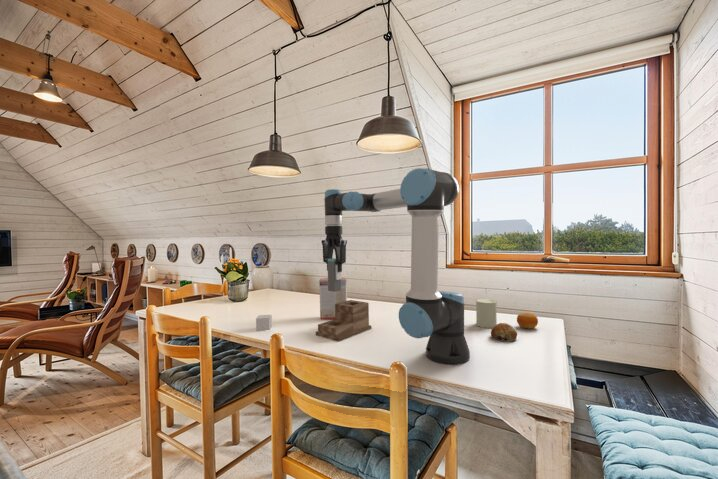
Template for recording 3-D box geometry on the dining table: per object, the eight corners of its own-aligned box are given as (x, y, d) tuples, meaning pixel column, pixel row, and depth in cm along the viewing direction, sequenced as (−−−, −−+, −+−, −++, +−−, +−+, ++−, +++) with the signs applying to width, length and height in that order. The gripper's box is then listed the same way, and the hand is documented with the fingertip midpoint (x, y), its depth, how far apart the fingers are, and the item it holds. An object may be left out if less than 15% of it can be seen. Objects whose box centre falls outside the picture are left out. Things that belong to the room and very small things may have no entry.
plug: (341, 290, 144) (340, 258, 143) (334, 291, 141) (334, 259, 140) (334, 289, 146) (334, 258, 146) (328, 290, 143) (327, 258, 143)
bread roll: (519, 348, 133) (524, 329, 135) (505, 342, 128) (510, 322, 130) (498, 342, 142) (502, 324, 143) (484, 335, 137) (489, 317, 138)
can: (497, 328, 149) (497, 302, 148) (476, 327, 152) (476, 301, 151) (496, 323, 158) (495, 298, 157) (475, 321, 160) (475, 297, 160)
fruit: (538, 317, 153) (530, 304, 151) (543, 329, 145) (535, 315, 143) (520, 324, 156) (512, 311, 154) (524, 335, 148) (516, 322, 147)
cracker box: (347, 316, 175) (347, 277, 175) (346, 319, 169) (346, 279, 169) (321, 316, 176) (320, 277, 176) (319, 319, 170) (319, 279, 170)
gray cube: (271, 327, 158) (271, 314, 158) (269, 330, 152) (269, 317, 152) (259, 327, 158) (258, 315, 158) (256, 331, 152) (256, 318, 152)
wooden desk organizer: (371, 328, 152) (371, 303, 151) (338, 341, 135) (338, 312, 135) (348, 323, 161) (348, 299, 160) (315, 335, 144) (315, 308, 144)
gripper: (354, 225, 140) (354, 279, 141) (326, 225, 151) (326, 276, 152) (342, 225, 134) (343, 281, 135) (313, 225, 145) (314, 278, 146)
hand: (334, 278), depth 143 cm, fingers closed on plug, 4 cm apart
